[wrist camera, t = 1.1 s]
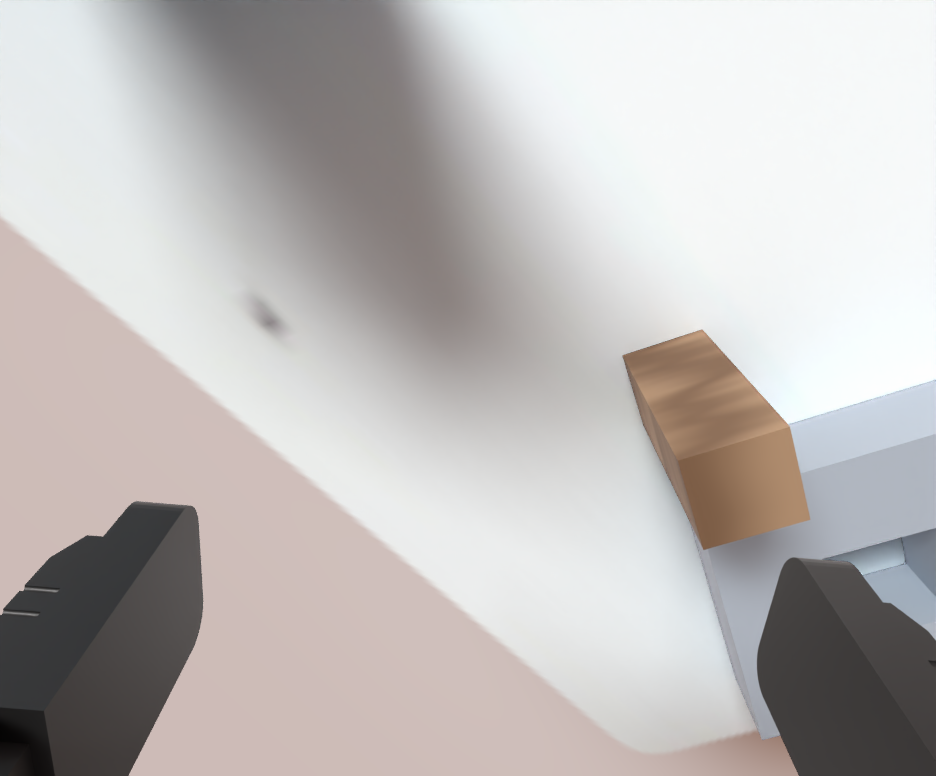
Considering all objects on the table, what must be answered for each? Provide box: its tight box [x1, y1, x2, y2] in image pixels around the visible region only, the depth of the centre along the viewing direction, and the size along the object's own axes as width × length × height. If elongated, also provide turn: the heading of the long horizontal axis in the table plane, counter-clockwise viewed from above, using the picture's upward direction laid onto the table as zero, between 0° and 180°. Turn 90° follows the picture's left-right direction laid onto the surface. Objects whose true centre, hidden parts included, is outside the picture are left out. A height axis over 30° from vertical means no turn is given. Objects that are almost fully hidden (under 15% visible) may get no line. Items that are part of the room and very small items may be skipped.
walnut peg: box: [623, 330, 811, 550], centre depth 29 cm, size 4×4×10 cm
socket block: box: [691, 380, 936, 740], centre depth 35 cm, size 14×14×4 cm
